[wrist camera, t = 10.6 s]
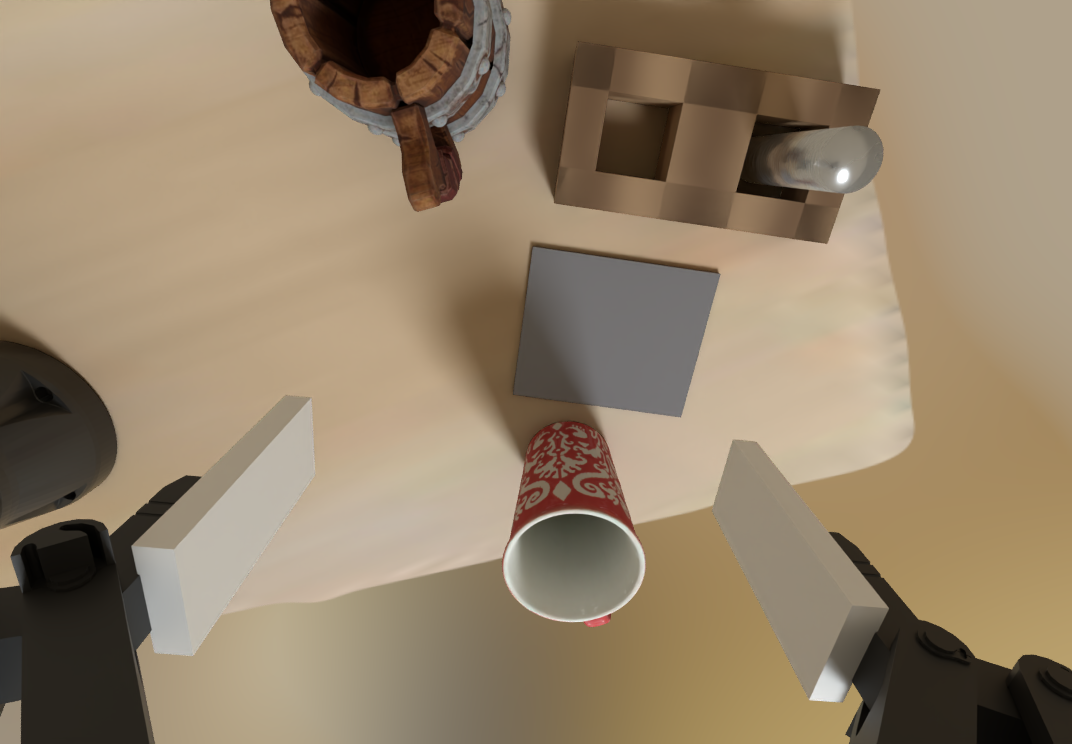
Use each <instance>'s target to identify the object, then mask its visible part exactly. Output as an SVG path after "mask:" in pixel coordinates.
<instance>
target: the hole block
mask: <svg viewBox="0 0 1072 744" xmlns="http://www.w3.org/2000/svg"><path fill="white" fill-rule="evenodd" d="M879 93H880V89H873V88H867V87H861V86H855V85H849V84H842V83H836V82H830V81H824V80H817V79H811V78H805V77H799V76H792V75H786V74H780V73H773V72H767V71H761V70H755V69H748V68H742V67H736V66H729V65H723V64H717V63H711V62H704V61H698V60H692V59H686V58H679V57H673V56H667V55H660V54H654V53H648V52H642V51H635V50H629V49H623V48H616V47H610V46H604V45H598V44H591V43H585V42H579V41H578V44H577V47H576V51H575V56H574V63H573V70H572V77H571V84H570V90H569V97H568V104H567V111H566V118H565V125H564V132H563V138H562V145H561V152H560V159H559V166H558V173H557V180H556V187H555V193H554V203H555V204H562V205H569V206H576V207H582V208H589V209H596V210H603V211H609V212H616V213H623V214H629V215H636V216H643V217H650V218H656V219H663V220H670V221H677V222H683V223H690V224H697V225H703V226H710V227H717V228H724V229H730V230H737V231H744V232H751V233H757V234H764V235H771V236H777V237H784V238H791V239H798V240H804V241H811V242H818V243H825V244H827V243H828V240H829V237H830V234H831V231H832V228H833V226H834V223H835V220H836V217H837V214H838V211H839V208H840V205H841V202H842V200H843V197H844V194H845V193H834V192H825V191H816V190H808V189H799V188H790V187H783V188H782V191H781V195H780V198H773V197H766V196H760V195H753V194H746V193H740V192H736V190H737V186H738V183H739V179H740V175H741V171H742V168H743V164H744V160H745V157H746V153H747V149H748V146H749V142H750V138H751V135H752V131H753V127H754V123H755V122H759V123H766V124H772V125H778V126H785V127H791V128H798V129H800V132H802V131H811V130H820V129H829V128H838V127H847V126H865V127H868V124H869V121H870V119H871V115H872V113H873V110H874V107H875V104H876V101H877V98H878V95H879ZM608 99H612V100H618V101H625V102H631V103H637V104H644V105H650V106H657V107H663V108H669V111H668V116H667V121H666V125H665V130H664V135H663V139H662V144H661V149H660V154H659V158H658V163H657V168H656V172H655V177H654V179H647V178H641V177H634V176H627V175H621V174H614V173H607V172H601V171H595V170H596V165H597V159H598V153H599V147H600V141H601V135H602V130H603V124H604V118H605V112H606V106H607V100H608Z"/></svg>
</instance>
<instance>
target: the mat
mask: <svg viewBox="0 0 1072 744" xmlns="http://www.w3.org/2000/svg"><path fill="white" fill-rule="evenodd" d="M719 277H720V274H719V273H713V272H707V271H700V270H693V269H686V268H679V267H672V266H665V265H659V264H652V263H645V262H638V261H631V260H624V259H617V258H611V257H604V256H597V255H590V254H583V253H576V252H569V251H562V250H556V249H549V248H542V247H535V246H533V250H532V258H531V265H530V272H529V280H528V287H527V295H526V302H525V309H524V317H523V324H522V331H521V339H520V346H519V353H518V361H517V368H516V376H515V383H514V390H513V395H520V396H528V397H535V398H543V399H550V400H557V401H565V402H572V403H579V404H587V405H594V406H601V407H609V408H616V409H623V410H631V411H638V412H645V413H653V414H660V415H667V416H675V417H681V415H682V412H683V408H684V404H685V401H686V397H687V393H688V390H689V386H690V383H691V379H692V375H693V372H694V368H695V364H696V361H697V357H698V354H699V350H700V346H701V343H702V339H703V335H704V332H705V328H706V325H707V321H708V317H709V314H710V310H711V306H712V303H713V299H714V295H715V292H716V288H717V285H718V281H719Z"/></svg>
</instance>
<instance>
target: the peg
mask: <svg viewBox="0 0 1072 744" xmlns="http://www.w3.org/2000/svg"><path fill="white" fill-rule="evenodd" d="M882 160H883V145H882V142H881V139H880V138H879V136H878V135H877V133H876V132H875V131H873V130H872V129H870V128H868V127H865V126H847V127H838V128H829V129H820V130H811V131H802V132H792V133H783V134H774V135H765V136H757V137H753V138H751V139H750V142H749V146H748V149H747V153H746V157H745V160H744V164H743V168H742V171H741V175H740V178H741V179H742V180H744V181H746V182H749V183H756V184H764V185H773V186H782V187H790V188H799V189H808V190H816V191H825V192H834V193H852V192H855V191H857V190H860V189H861V188H863V187H864V186H866V185H867V184H868V183H869V182H870V181H871V180H872V179H873V178H874V177H875V175H876V174H877V172H878V170H879V168H880V166H881V164H882Z"/></svg>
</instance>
